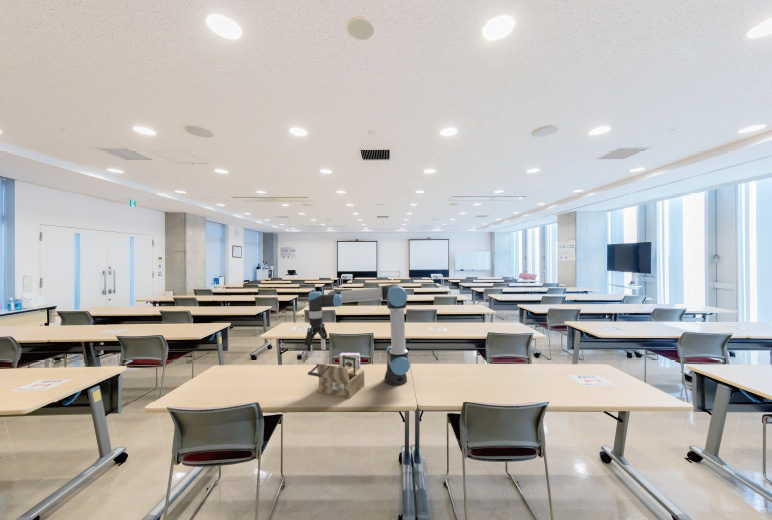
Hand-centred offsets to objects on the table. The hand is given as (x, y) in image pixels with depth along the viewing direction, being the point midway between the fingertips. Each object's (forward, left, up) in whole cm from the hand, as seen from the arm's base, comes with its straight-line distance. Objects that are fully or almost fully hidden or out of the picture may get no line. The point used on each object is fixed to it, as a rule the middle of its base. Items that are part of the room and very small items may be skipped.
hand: (316, 352), depth 190 cm
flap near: (-9, -3, -11) cm, 15 cm away
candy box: (-4, -31, -26) cm, 40 cm away
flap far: (-9, -17, -16) cm, 25 cm away
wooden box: (-9, -13, -26) cm, 30 cm away
